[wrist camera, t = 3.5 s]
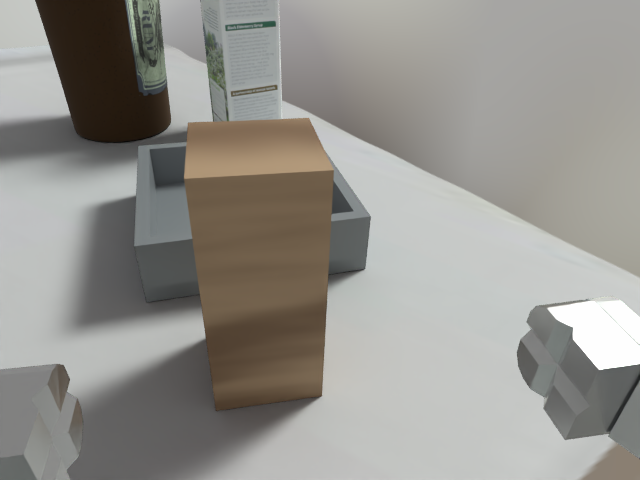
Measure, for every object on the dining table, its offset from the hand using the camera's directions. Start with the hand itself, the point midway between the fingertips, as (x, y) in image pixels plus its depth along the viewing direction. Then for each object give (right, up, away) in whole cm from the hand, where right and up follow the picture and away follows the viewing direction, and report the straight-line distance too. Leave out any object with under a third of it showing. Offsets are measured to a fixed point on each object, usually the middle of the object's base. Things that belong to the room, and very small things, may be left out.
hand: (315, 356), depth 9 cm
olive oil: (-20, +14, +42) cm, 49 cm away
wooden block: (-3, -4, +17) cm, 17 cm away
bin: (-5, +3, +27) cm, 28 cm away
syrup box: (-7, +13, +42) cm, 45 cm away
